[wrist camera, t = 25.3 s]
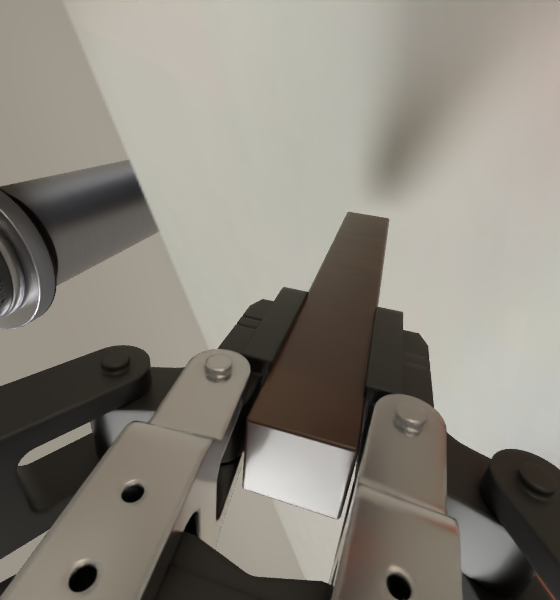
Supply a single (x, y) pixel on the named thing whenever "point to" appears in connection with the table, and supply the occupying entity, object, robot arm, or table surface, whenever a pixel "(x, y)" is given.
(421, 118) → the table surface
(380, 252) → the stick
